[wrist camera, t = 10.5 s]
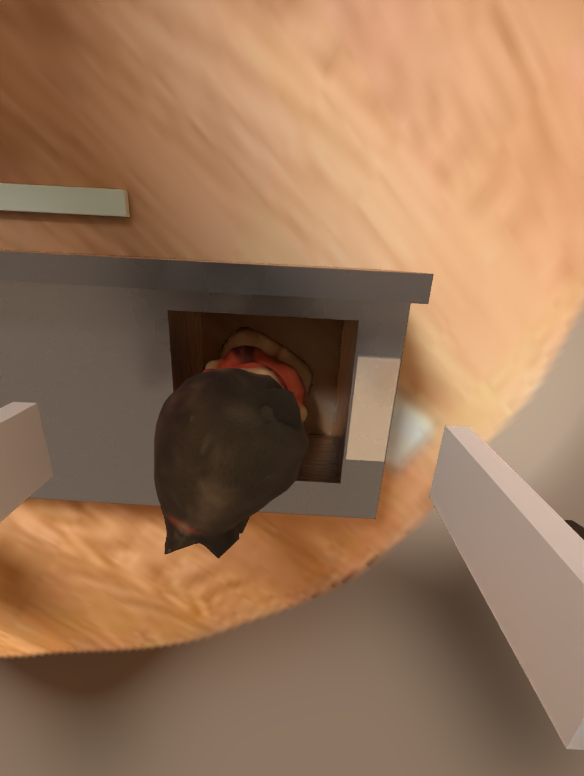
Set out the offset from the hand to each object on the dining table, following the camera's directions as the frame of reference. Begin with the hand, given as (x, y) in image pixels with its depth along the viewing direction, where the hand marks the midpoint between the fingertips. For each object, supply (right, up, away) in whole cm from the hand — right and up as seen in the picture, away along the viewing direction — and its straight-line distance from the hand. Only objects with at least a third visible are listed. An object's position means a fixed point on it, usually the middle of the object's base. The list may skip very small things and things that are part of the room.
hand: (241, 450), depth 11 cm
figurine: (0, +3, +9) cm, 10 cm away
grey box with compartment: (-7, +3, +9) cm, 12 cm away
